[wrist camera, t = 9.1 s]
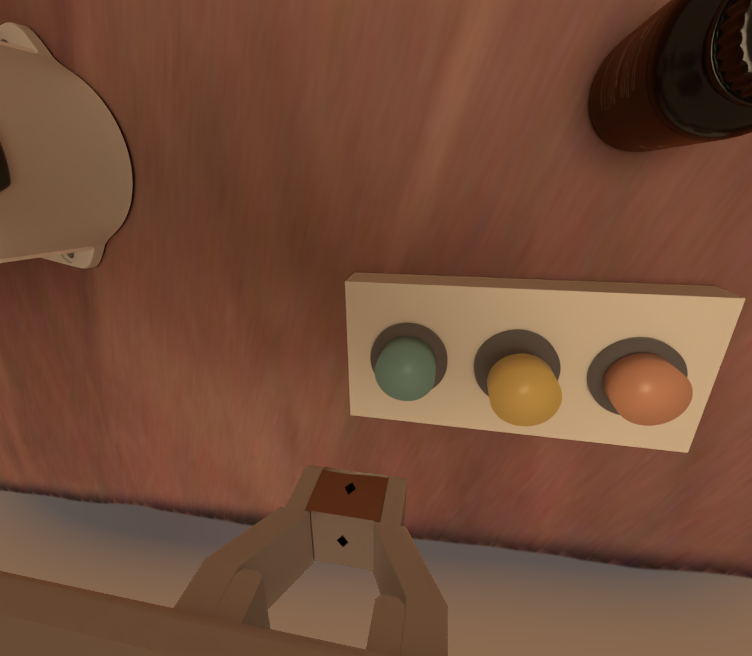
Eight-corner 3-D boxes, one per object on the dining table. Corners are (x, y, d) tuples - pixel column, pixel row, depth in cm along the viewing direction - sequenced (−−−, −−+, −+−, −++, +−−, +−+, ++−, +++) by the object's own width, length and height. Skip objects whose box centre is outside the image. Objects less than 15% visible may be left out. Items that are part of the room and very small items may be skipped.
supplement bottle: (637, 176, 25) (783, 173, 14) (562, 105, 24) (651, 43, 13) (742, 76, 22) (1030, -28, 11) (660, -7, 21) (877, -204, 10)
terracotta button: (597, 405, 27) (607, 421, 25) (610, 350, 25) (622, 363, 23) (665, 411, 26) (681, 429, 24) (684, 355, 24) (702, 369, 23)
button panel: (358, 396, 35) (348, 419, 32) (354, 272, 31) (342, 283, 28) (667, 428, 30) (692, 458, 27) (715, 285, 26) (752, 301, 23)
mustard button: (484, 406, 27) (486, 422, 25) (490, 351, 25) (493, 364, 23) (548, 412, 26) (555, 429, 24) (559, 356, 24) (568, 370, 23)
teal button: (379, 384, 30) (374, 398, 28) (379, 334, 28) (374, 345, 26) (435, 390, 29) (433, 404, 27) (438, 338, 27) (436, 349, 26)
